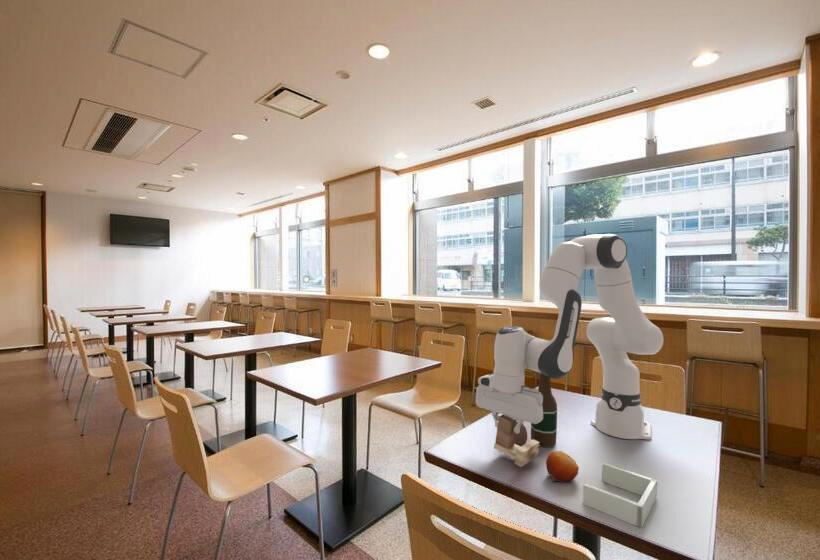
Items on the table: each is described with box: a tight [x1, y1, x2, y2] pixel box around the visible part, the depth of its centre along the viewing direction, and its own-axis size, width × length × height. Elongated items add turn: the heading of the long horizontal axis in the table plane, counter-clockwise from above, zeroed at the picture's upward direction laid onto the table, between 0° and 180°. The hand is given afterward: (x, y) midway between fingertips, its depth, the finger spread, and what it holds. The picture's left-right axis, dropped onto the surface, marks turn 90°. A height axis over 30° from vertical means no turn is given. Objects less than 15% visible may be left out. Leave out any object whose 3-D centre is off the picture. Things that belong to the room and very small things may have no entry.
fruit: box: [545, 450, 580, 484], centre depth 101 cm, size 8×8×8 cm
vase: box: [515, 422, 528, 447], centre depth 119 cm, size 7×7×9 cm
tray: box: [582, 462, 658, 528], centre depth 91 cm, size 15×12×4 cm
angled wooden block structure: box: [493, 414, 540, 468], centre depth 109 cm, size 10×10×10 cm
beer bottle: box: [530, 372, 558, 448], centre depth 122 cm, size 8×8×24 cm
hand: (507, 429), depth 111 cm, fingers closed on angled wooden block structure, 4 cm apart
